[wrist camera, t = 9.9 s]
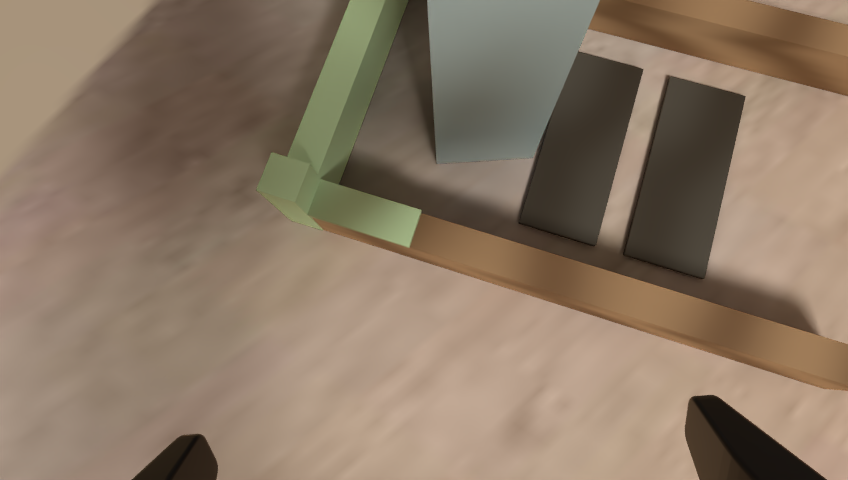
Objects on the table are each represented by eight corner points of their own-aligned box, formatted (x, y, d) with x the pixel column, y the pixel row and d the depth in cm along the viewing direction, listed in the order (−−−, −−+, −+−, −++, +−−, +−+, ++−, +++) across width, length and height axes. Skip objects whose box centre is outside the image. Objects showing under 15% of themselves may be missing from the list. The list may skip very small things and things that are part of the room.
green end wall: (425, -42, 28) (420, -120, 23) (322, 230, 25) (295, 202, 20) (396, -49, 28) (385, -128, 23) (290, 220, 25) (255, 189, 20)
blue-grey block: (524, 70, 26) (597, -205, 13) (532, 157, 25) (620, -49, 12) (431, 76, 26) (416, -190, 13) (436, 163, 25) (425, -35, 12)
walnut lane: (878, 73, 25) (930, 38, 22) (823, 389, 22) (875, 394, 19) (410, -46, 28) (406, -90, 25) (306, 225, 25) (289, 208, 22)
